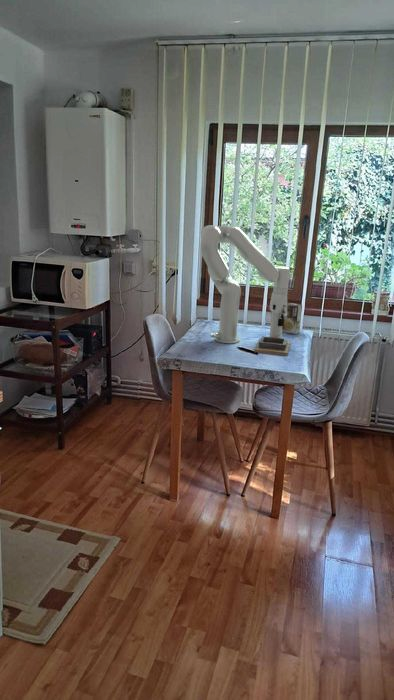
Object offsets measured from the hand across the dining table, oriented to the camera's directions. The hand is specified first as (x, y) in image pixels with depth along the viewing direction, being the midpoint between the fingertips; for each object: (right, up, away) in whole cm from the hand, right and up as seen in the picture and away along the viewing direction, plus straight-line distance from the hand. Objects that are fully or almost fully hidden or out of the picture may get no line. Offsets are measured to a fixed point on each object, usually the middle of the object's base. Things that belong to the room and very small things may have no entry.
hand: (276, 324), depth 258 cm
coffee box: (+11, -3, +22) cm, 25 cm away
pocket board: (-4, -13, -13) cm, 19 cm away
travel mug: (0, -9, +2) cm, 9 cm away
